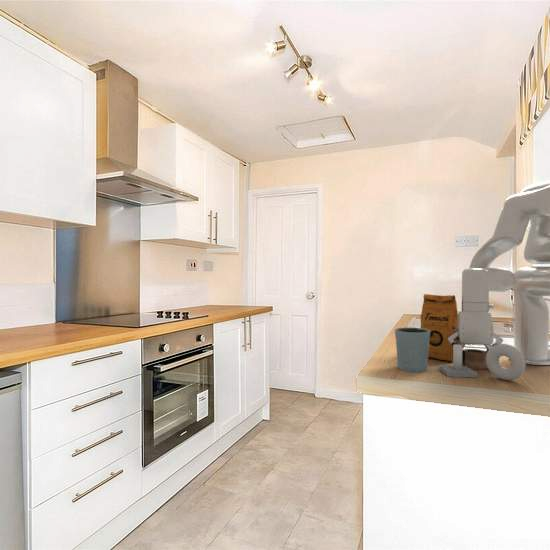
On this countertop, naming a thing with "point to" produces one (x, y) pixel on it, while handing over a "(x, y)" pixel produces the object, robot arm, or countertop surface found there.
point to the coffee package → (439, 324)
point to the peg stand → (457, 365)
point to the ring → (474, 358)
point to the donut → (515, 358)
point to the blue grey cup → (412, 349)
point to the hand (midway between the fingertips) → (474, 363)
